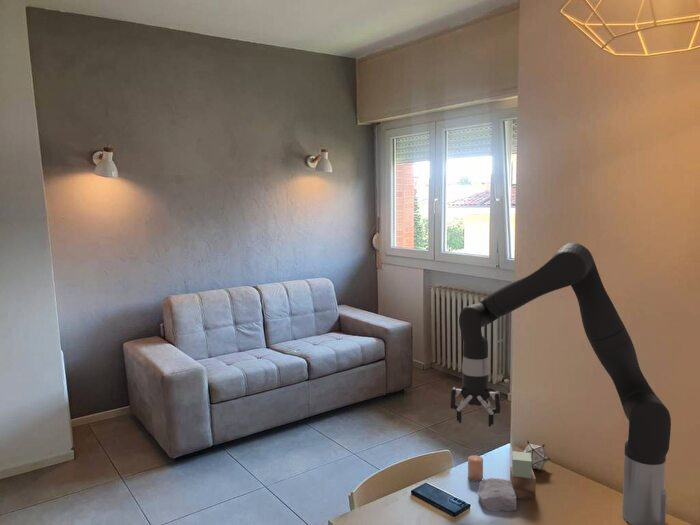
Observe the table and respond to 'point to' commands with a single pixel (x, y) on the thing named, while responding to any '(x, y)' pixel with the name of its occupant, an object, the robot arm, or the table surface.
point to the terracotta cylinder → (475, 468)
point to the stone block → (497, 494)
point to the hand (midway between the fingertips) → (475, 423)
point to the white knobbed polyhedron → (537, 455)
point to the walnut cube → (524, 486)
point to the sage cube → (521, 464)
